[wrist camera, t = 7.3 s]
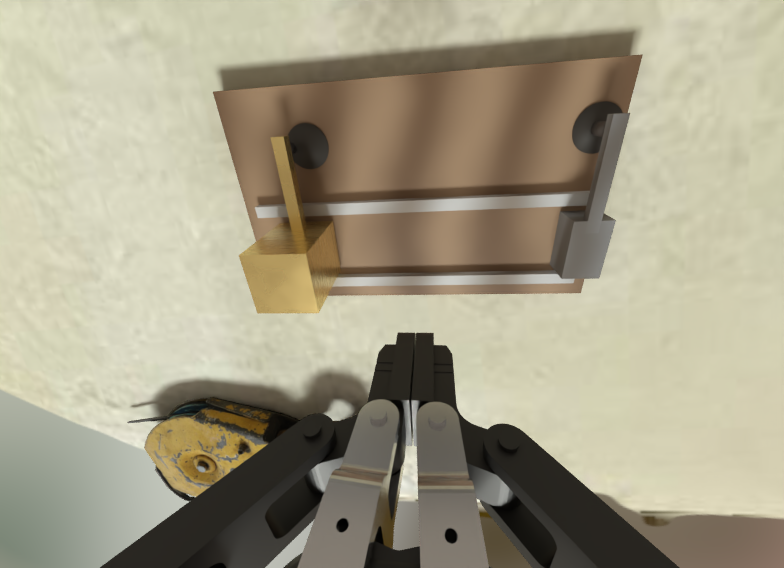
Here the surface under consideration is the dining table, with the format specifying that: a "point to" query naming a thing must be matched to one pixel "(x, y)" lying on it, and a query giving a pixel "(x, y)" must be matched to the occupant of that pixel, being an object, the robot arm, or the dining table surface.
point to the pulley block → (209, 441)
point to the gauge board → (445, 172)
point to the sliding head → (292, 252)
